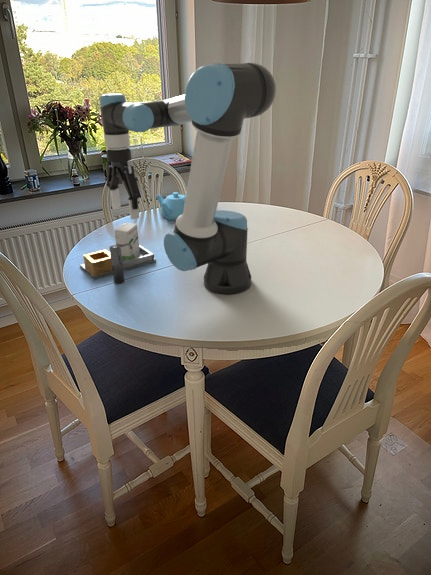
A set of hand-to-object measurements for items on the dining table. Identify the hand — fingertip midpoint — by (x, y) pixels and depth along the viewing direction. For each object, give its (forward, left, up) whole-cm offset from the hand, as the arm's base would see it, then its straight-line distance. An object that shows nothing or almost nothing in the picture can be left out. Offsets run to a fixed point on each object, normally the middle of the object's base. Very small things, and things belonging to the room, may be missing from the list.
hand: (125, 213), depth 149 cm
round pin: (-12, +10, -18) cm, 23 cm away
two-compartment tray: (0, +5, -18) cm, 18 cm away
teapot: (+32, -39, -18) cm, 53 cm away
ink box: (+1, 0, -17) cm, 17 cm away
